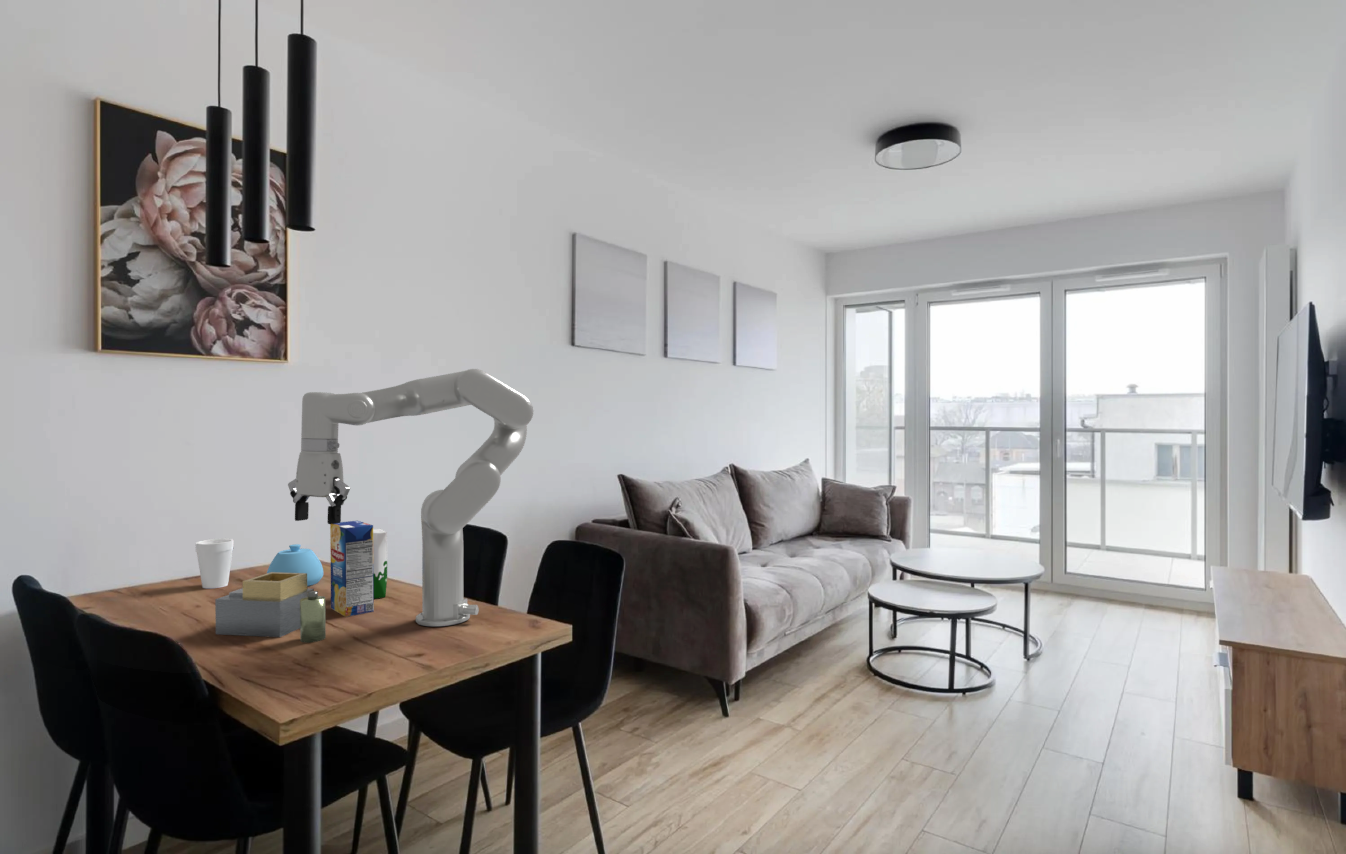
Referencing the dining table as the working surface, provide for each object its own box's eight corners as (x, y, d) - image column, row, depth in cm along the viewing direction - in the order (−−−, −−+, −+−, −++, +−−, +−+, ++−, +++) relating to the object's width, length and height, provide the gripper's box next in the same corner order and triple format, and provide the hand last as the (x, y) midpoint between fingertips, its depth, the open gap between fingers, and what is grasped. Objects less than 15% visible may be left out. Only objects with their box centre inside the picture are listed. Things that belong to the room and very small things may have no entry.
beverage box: (345, 616, 176) (345, 528, 175) (330, 608, 184) (330, 523, 183) (373, 611, 180) (373, 525, 180) (358, 603, 188) (357, 520, 188)
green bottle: (330, 635, 161) (330, 589, 160) (316, 642, 156) (316, 595, 155) (309, 634, 161) (309, 588, 161) (295, 641, 156) (295, 594, 156)
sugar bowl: (261, 591, 200) (261, 551, 200) (270, 580, 214) (270, 542, 214) (320, 587, 206) (320, 547, 206) (325, 576, 220) (325, 538, 220)
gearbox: (314, 621, 171) (313, 572, 171) (280, 637, 160) (279, 584, 159) (253, 619, 174) (253, 570, 173) (215, 634, 162) (215, 581, 161)
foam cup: (207, 582, 211) (206, 538, 211) (240, 581, 212) (239, 538, 212) (189, 590, 202) (188, 544, 201) (223, 589, 203) (223, 544, 202)
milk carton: (348, 595, 196) (348, 523, 196) (383, 590, 201) (382, 520, 201) (354, 602, 189) (354, 527, 189) (390, 597, 194) (389, 524, 194)
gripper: (361, 447, 162) (359, 522, 162) (304, 444, 168) (302, 517, 168) (335, 448, 155) (333, 526, 155) (277, 445, 161) (275, 520, 161)
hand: (317, 521), depth 162 cm, fingers open, 9 cm apart
